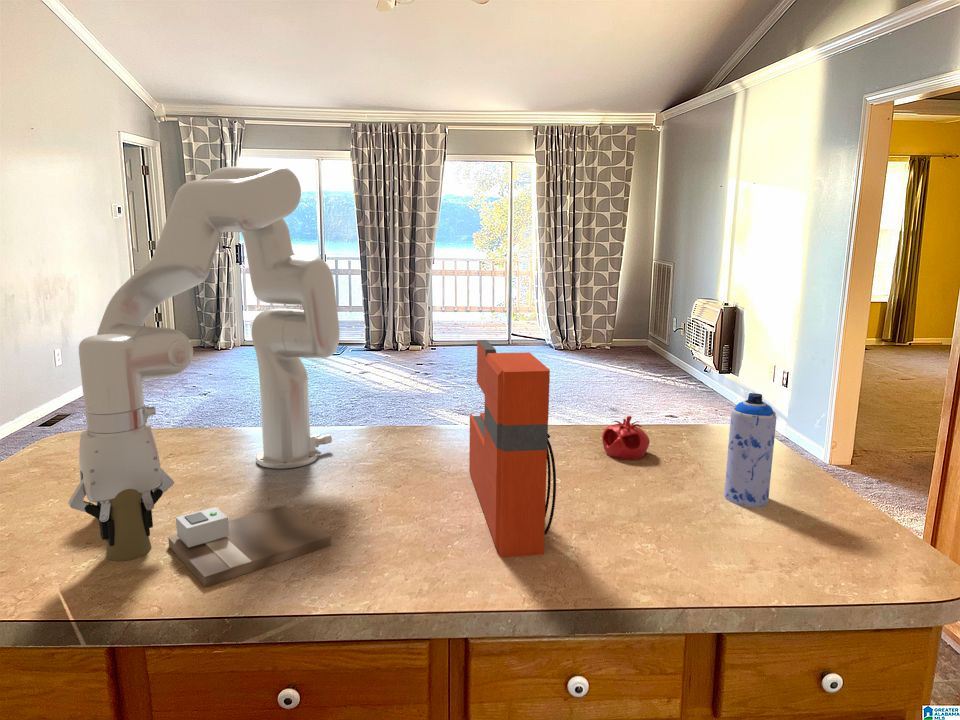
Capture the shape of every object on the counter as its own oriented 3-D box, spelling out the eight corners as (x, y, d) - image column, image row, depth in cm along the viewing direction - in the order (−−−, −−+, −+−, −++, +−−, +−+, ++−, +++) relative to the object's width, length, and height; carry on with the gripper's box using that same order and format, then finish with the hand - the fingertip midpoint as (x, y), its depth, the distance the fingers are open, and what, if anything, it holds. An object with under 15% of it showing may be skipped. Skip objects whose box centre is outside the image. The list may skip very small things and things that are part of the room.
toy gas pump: (512, 472, 134) (515, 333, 129) (558, 554, 101) (565, 370, 95) (466, 474, 133) (467, 334, 128) (497, 558, 99) (500, 372, 94)
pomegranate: (613, 446, 151) (615, 407, 149) (655, 455, 145) (658, 414, 144) (593, 458, 143) (595, 416, 141) (637, 468, 138) (640, 424, 136)
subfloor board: (285, 512, 114) (285, 504, 114) (330, 544, 102) (330, 535, 102) (169, 546, 101) (168, 536, 101) (205, 587, 90) (204, 576, 90)
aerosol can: (769, 497, 123) (780, 392, 119) (768, 512, 116) (779, 401, 112) (724, 489, 126) (733, 387, 122) (720, 504, 119) (729, 396, 115)
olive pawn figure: (160, 545, 102) (154, 477, 100) (128, 563, 96) (121, 492, 94) (130, 539, 104) (123, 472, 101) (96, 556, 98) (88, 486, 96)
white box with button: (217, 524, 105) (215, 505, 104) (229, 535, 101) (228, 515, 100) (177, 535, 101) (175, 516, 100) (188, 547, 97) (186, 527, 96)
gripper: (169, 405, 104) (178, 514, 108) (43, 425, 93) (57, 545, 97) (185, 415, 99) (194, 530, 102) (53, 437, 88) (68, 565, 91)
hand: (127, 536), depth 99 cm, fingers closed on olive pawn figure, 4 cm apart
